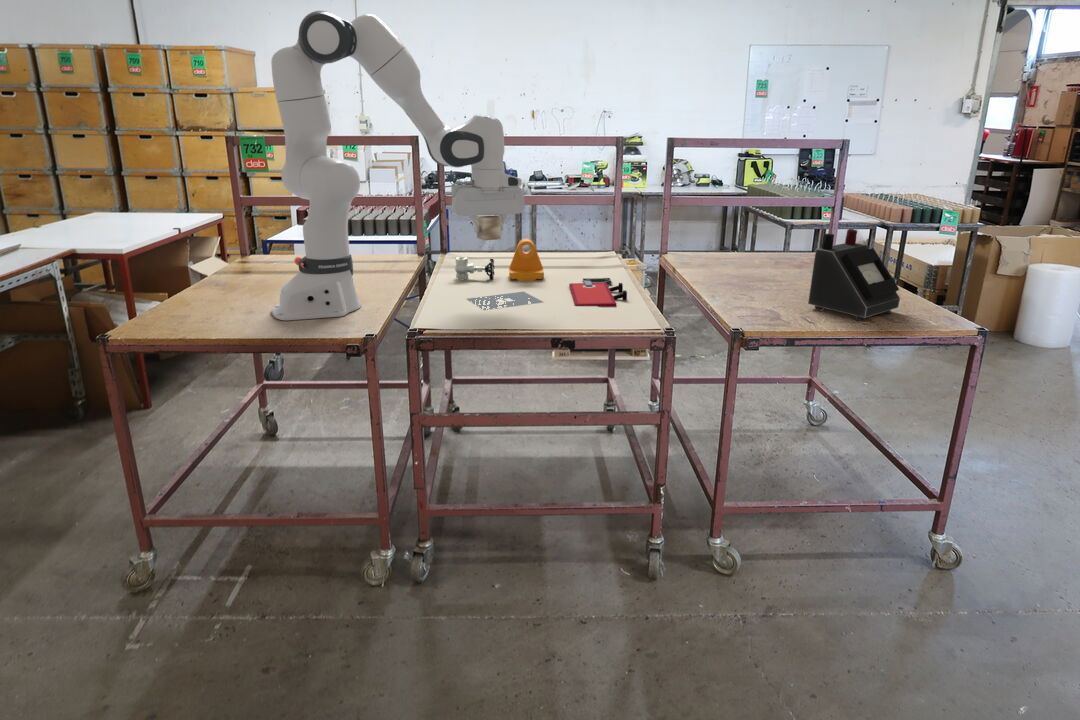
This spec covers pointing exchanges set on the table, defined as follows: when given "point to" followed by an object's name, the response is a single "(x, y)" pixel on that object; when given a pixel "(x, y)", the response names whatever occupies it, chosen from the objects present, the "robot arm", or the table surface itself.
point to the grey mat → (519, 298)
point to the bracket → (526, 263)
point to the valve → (472, 268)
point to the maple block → (489, 227)
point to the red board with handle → (596, 292)
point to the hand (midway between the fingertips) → (488, 231)
